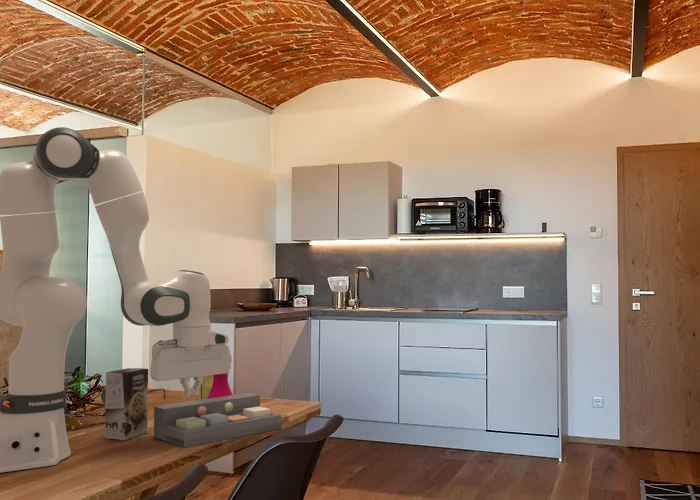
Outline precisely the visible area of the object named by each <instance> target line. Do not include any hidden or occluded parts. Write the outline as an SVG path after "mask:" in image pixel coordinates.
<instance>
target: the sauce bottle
mask: <svg viewBox="0 0 700 500" xmlns="http://www.w3.org/2000/svg"><path fill="white" fill-rule="evenodd" d="M212 384H213V375H208V376H203V382H202V384H201V386H200V388H199V395H198V396H197V398H198V399H197V400H202V399H208V395H209V392H210V390H211V387H212Z"/></svg>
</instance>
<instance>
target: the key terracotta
mask: <svg viewBox="0 0 700 500" xmlns="http://www.w3.org/2000/svg"><path fill="white" fill-rule="evenodd" d="M249 419H250V417H246V416H241V415H234V416H228V423H231V422H237V421H243V420H249Z"/></svg>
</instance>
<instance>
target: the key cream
mask: <svg viewBox="0 0 700 500" xmlns="http://www.w3.org/2000/svg"><path fill="white" fill-rule="evenodd" d="M270 412H271V408H269V407H268V408H267V407H264V406H263V407H262V406H260V407H259V406H258V407H252V408H246V409H243V416H246V417H250V419H254V418H260V417H266V416H270Z"/></svg>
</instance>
